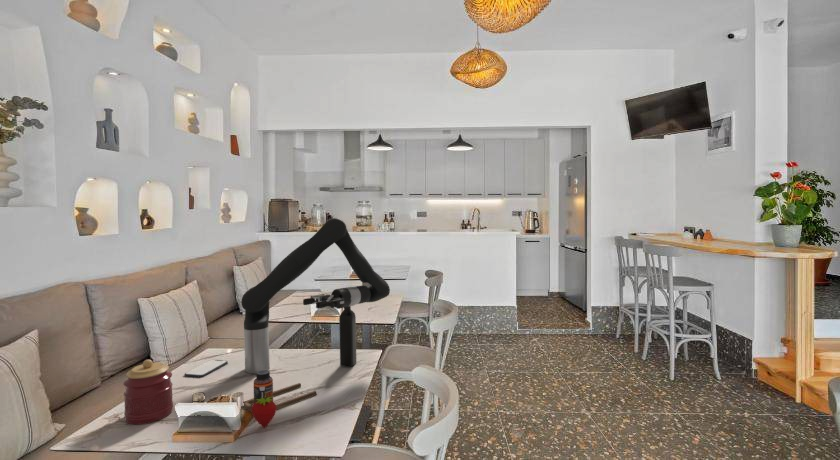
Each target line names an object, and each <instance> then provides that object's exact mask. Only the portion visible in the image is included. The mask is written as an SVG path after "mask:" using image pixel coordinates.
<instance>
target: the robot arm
mask: <svg viewBox="0 0 840 460" xmlns="http://www.w3.org/2000/svg"><path fill="white" fill-rule="evenodd" d="M334 244H335V245H336V246H337V247H338V248H339V250H340V251H341V253H342V254H343V255H344V257H345V258H346V260H347V262H348V264H349V266H350V267H351V269H352V270H353V272H354V274H355V275H356V276H357V278H358V279H359V281H360V282H361V283H367V284H369V285H368V286H367V285H357V286H348V287H347V286H346V287H342V288H335V289H333V291H332V292H331V293H330V294H329V293H327V294H324V293H322V294H317V295H316V294H315V295H310V297H308V298H304V299H303V300H302V304H303V306H309V305H315V308H316V309H318V310H319V309H324V308H330V309H334V308H335V309H344V307H349V306H351V307H353V306H356V305H360V304H365V303H375V302H378V301H380V300H383V299H384V298H387V297H388V296H389V295H390V293H391V292H390V291H391V290H390V285H389V284H388V282H387V281H386V280H385V279H384V278H383V277H382V276H381V275H380V274H378V273H377V272H376V270H374V268H373V266H372V265H371V264H370V262H369V261H368V260H367V259H366V257H365V256H364V254H363V253H362V251H360V249H359V248H358V246H357V245H356V244H355V242H354V240H353V239H352V237H351V235H350V233H349V231H348V228H347V224H346V222H344V220H342V219H341V218H338V217H332V218H328V219H327V220H326V221H325V223H323V225H322V226H321V227H320V228H319V230H317V232H316V233H314V235H312V236H311V237H310V238H309V239H307V240H306V241H305V242H303V243H302V244H300V245H299V246H298V247H295V249H294V250H292V251H291V252H290V253H289V254H288V255H286V256H285V257H284V258H283V259H282V260H281V261H280V262H279V263H278V264H277V265H276V266H275V267H274V268H273V269H272V271H271V272H270V273H269V274H268V275H267V276H266V277H265V278H264V279H263V280H261V281H260V282H259V283H257V284H256V285H255V286H252V287H251V288H249V289H248V290H246V291H245V292H244V294H243V295H242V297H241V301H240V302H241V307H242V309H243V310H244V311H245V313H244V320H243V337H244V339H243V341H244V342H243V343H244V348H243V349H244V370H245V371H244V372H245V373H247V374H257V372H258V371H261V370H268V371H269V369H270V334H269V333H270V331H269V329H270V328H269V319H270V301H271V299H272V298H274V296H275V295H277V294H278V293H279V292H280V291H281V290H283V288H286V286H288V285H289V284H291V283H292V282H294V281H295V280H296V279H297V278H299V277H300V276H302V274H303V273H305V271H307V270H308V269H309V268H310V267H311V266H312V265H313V264H314V262H316V261H317V259H319V257H320V255H321V254H322V253H323V252H324V251H325V250H327V249H329V247H331V246H333V245H334Z"/></svg>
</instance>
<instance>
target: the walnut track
mask: <svg viewBox="0 0 840 460" xmlns="http://www.w3.org/2000/svg"><path fill="white" fill-rule="evenodd" d="M301 387H302V383H301V382H298V383H295V384H293V385H289V386H286V387H283V388H280V389H277V390H273V397H275V396H278V395H281V394H284V393H287V392H290V391H293V390H296V389H298V388H301ZM315 396H317V391H316V390H312V391H310V392H306V393H303V394H301V395H300V396H296V397H293V398H290V399H288V400H284V401H282V402H280V403H277V404H276V403H275V404H276V408H277V409H276V411H277V410H279V409H282V408H284V407H288V406H291V405H292V404H296V403H298V402H301V401H303V400H306V399H309V398H312V397H315ZM242 402H243V403H244V406H243V408H245V409H247V410H248V411H250V412H251V410H252V406H253V404H254V397H252V398H250V399H247V400H245V401H242Z"/></svg>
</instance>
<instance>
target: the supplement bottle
mask: <svg viewBox="0 0 840 460" xmlns="http://www.w3.org/2000/svg"><path fill="white" fill-rule="evenodd" d="M273 392H274V379H273V377H272V376H271V374H270V370H269V369H268V370H261V371H258V372H257V373H256V378H255V379H254V380H253V398H254V403H255V402H257V400H256V399H261V398H264V399H265V400H266V398H268V397H271V398H270V399H272V400H273V401H274V396H273ZM265 395H266V397H265ZM254 403H253V404H254Z"/></svg>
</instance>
